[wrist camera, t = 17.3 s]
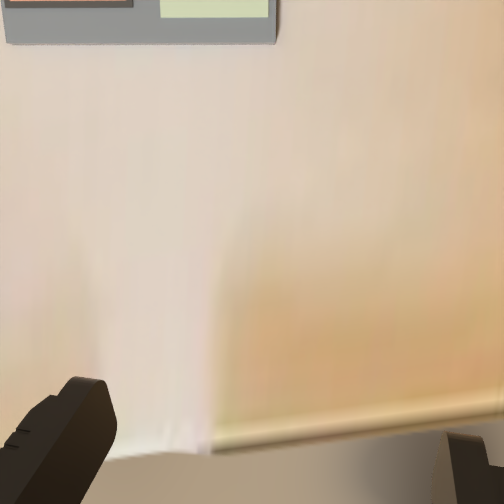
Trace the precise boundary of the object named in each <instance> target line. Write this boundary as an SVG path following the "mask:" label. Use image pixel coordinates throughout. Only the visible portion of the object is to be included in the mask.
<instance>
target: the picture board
mask: <svg viewBox="0 0 504 504" xmlns="http://www.w3.org/2000/svg"><path fill="white" fill-rule="evenodd" d="M1 6H2V14H3V21H4V29H5V36H6V43H8V44H12V45H233V44H275V43H276V0H1Z"/></svg>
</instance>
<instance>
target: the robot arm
mask: <svg viewBox="0 0 504 504" xmlns="http://www.w3.org/2000/svg"><path fill="white" fill-rule="evenodd" d="M116 431H117V420H116V416H115V412H114V409H113V405H112V402H111V398H110V395H109V391H108V388H107V385H106V383H105V381H103V380H98V379H91V378H84V377H77V376H75V377H72V378H71V379H70V380H69V381H68V382H67V383H66V384H65V386H64V387H63V388H62V390H61V391H60V393H59V394H58V395H57V396H54V395H49V396H48V397H47V398H45V399H44V400H43V401H41V402H40V403H39V404H37V405H36V406H35V407H34V408H32V409H31V410H30V411H29V412H28V414H27V415H26V416H25V417H24V419H23V420H22V421H21V423H20V424H19V425H18V427H17V428H16V431H15V432H13V433H12V434H11V436H10V437H9V438H8V439H7V441H6V442H5V443H4V447H3V448H0V504H80V503H81V501H82V500H83V498H84V496H85V494H86V492H87V490H88V489H89V487H90V485H91V483H92V481H93V479H94V478H95V476H96V474H97V472H98V470H99V468H100V467H101V465H102V463H103V461H104V459H105V458H106V456H107V454H108V452H109V450H110V448H111V447H112V445H113V442H114V439H115V436H116ZM431 501H432V504H504V467H498V466H491V465H489V463H488V458H487V453H486V449H485V445H484V441H483V439H482V438H481V437H480V436H474V435H467V434H460V433H454V432H447V431H444V432H443V433H442V436H441V441H440V445H439V449H438V453H437V457H436V461H435V465H434V469H433V474H432V484H431Z"/></svg>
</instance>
